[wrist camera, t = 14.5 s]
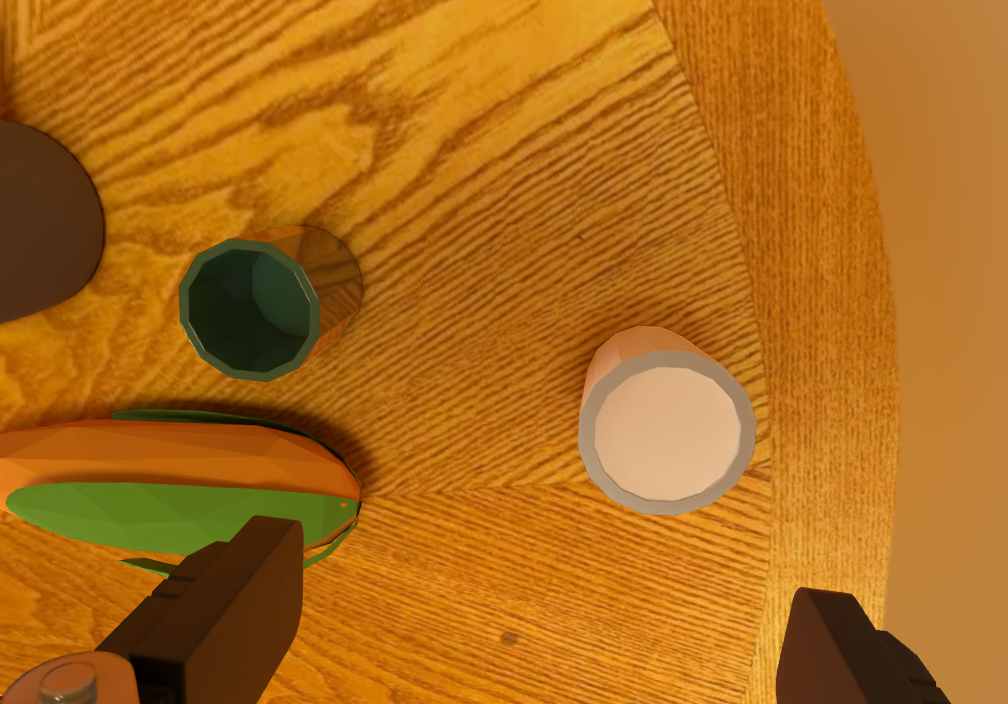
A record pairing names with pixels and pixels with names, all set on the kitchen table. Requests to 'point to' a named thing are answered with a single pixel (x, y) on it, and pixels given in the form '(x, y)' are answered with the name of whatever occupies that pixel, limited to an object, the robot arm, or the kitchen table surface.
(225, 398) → the kitchen table surface
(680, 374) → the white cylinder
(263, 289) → the green faceted cup
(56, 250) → the mug
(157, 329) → the kitchen table surface
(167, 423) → the corn
